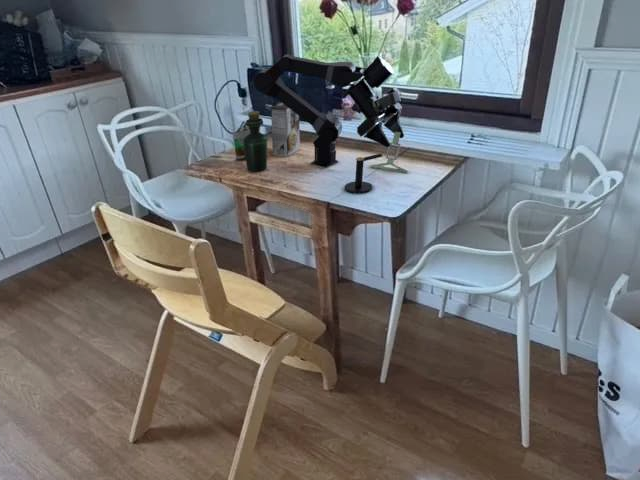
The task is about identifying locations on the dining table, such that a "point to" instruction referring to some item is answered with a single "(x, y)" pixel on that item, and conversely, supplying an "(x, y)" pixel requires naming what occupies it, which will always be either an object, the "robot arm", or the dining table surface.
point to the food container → (240, 142)
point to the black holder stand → (360, 177)
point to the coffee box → (284, 130)
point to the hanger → (391, 160)
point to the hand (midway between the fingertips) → (396, 141)
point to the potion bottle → (255, 144)
